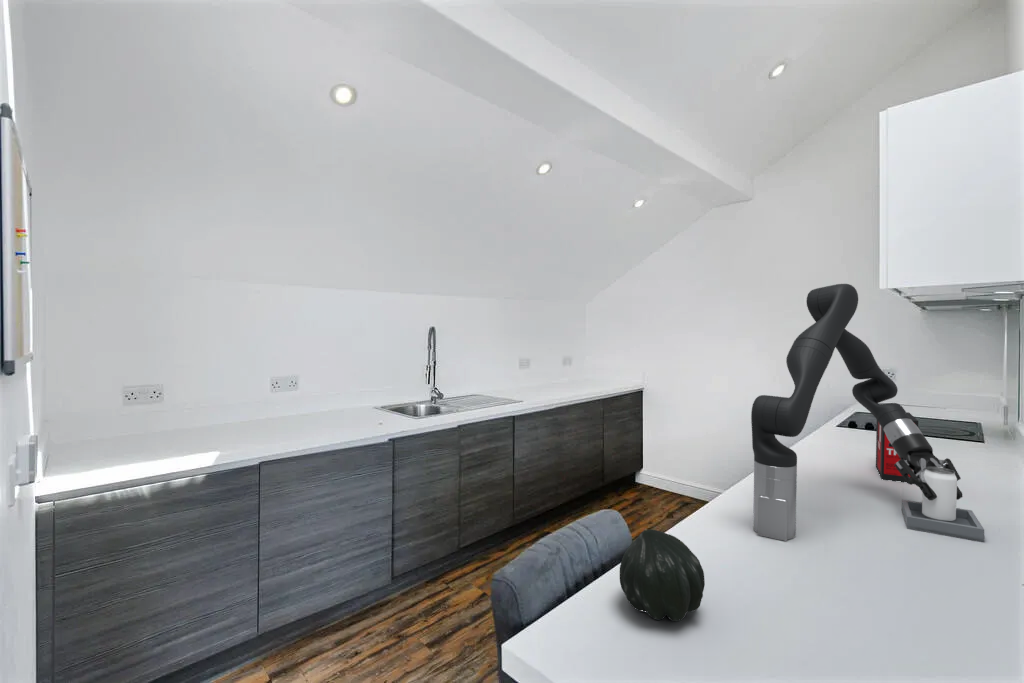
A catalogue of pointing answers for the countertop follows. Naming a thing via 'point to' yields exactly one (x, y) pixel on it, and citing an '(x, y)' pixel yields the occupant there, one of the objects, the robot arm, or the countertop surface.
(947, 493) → the can
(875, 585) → the countertop surface
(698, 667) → the countertop surface
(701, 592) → the squash
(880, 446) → the cleaning product box
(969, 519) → the tray
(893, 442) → the robot arm
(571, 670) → the countertop surface
